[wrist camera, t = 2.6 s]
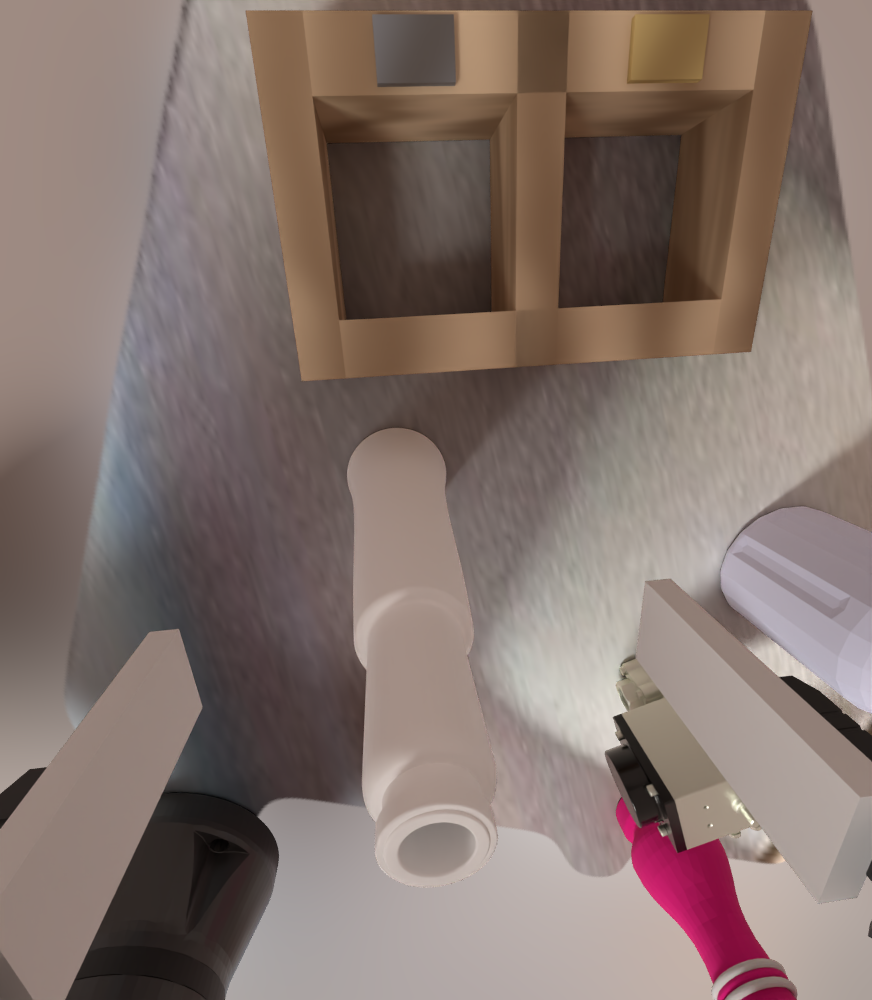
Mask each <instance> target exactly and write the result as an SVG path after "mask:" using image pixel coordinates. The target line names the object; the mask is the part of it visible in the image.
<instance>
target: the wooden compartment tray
mask: <svg viewBox="0 0 872 1000" xmlns="http://www.w3.org/2000/svg"><path fill="white" fill-rule="evenodd" d="M246 16H247V23H248V30H249V36H250V43H251V49H252V56H253V63H254V69H255V76H256V82H257V89H258V95H259V102H260V109H261V115H262V122H263V128H264V135H265V142H266V148H267V155H268V161H269V168H270V175H271V181H272V188H273V194H274V201H275V207H276V214H277V221H278V227H279V234H280V240H281V247H282V254H283V260H284V267H285V273H286V280H287V287H288V293H289V300H290V306H291V313H292V320H293V326H294V333H295V339H296V346H297V352H298V359H299V366H300V372H301V379H302V381H313V380H328V379H343V378H359V377H374V376H389V375H404V374H419V373H435V372H450V371H465V370H480V369H496V368H511V367H526V366H541V365H556V364H572V363H587V362H602V361H617V360H632V359H648V358H663V357H678V356H693V355H708V354H724V353H739V352H751V349H752V343H753V338H754V332H755V326H756V321H757V315H758V310H759V304H760V299H761V293H762V288H763V282H764V277H765V271H766V265H767V260H768V254H769V249H770V243H771V238H772V232H773V227H774V221H775V216H776V210H777V204H778V199H779V193H780V188H781V182H782V177H783V171H784V166H785V160H786V155H787V149H788V143H789V138H790V132H791V127H792V121H793V116H794V110H795V105H796V99H797V94H798V88H799V82H800V77H801V71H802V66H803V60H804V55H805V49H806V44H807V38H808V33H809V27H810V21H811V16H812V11H246ZM655 135H681V142H680V151H679V160H678V169H677V178H676V187H675V196H674V205H673V214H672V223H671V232H670V241H669V250H668V259H667V268H666V277H665V285H664V294H663V303H645V304H627V305H609V306H591V307H573V308H558V299H559V273H560V246H561V220H562V194H563V167H564V141H565V138H570V137H613V136H655ZM486 139H490V198H491V306H492V312H483V313H465V314H447V315H429V316H410V317H392V318H374V319H356V320H346V311H345V302H344V293H343V284H342V275H341V267H340V258H339V249H338V240H337V231H336V222H335V214H334V205H333V196H332V187H331V178H330V169H329V161H328V152H327V143H359V142H401V141H444V140H486Z"/></svg>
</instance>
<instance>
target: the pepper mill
mask: <svg viewBox="0 0 872 1000" xmlns="http://www.w3.org/2000/svg"><path fill="white" fill-rule="evenodd" d="M616 816H617V820H618V822H619V824H620V826H621V828H622V830H623V833H624V835H625V837H626V838H627V839H628V841H630V842H631V843H633V844H632V851H631V856H632V864H633V867H634V869H635V871H636V873H637V875H638V877H639V878H640V880H641V882H642V884H643V885H644V887H645V888H646V889H647V891H648V892H649V893H650V895H651V896H652V897H653V898H654V899H655V901H656V902H657V903H658V904H659V905H660V906H661V907H662V908H663V909H664V910H665V911H666V912H667V913H668V914H669V915H670V916H671V917H672V918H673V919H674V920H675V921H676V922H677V923H678V924H679V925H680V926H681V927H682V929H683V930H684V931H685V932H686V934H687V935H688V936H689V938H690V939H691V940H692V942H693V943H694V944H695V947H696V948H697V950H698V952H699V954H700V956H701V958H702V959H703V961H704V963H705V965H706V967H707V970H708V972H709V975H710V977H711V980H712V982H713V986H712V990H711V992H712V997H713V999H714V1000H797V989H796V987H795V986H794V984H793V983H792V982H791V981H789V980H788V977H787V976H786V973H785V970H784V968H783V966H782V965H781V964H780V963H778V962H777V961H775V960H772V959H770V958H769V957H768V955H767V954H766V953H765V951H764V950H763V948H762V947H761V945H760V944H759V943H758V941H757V940H756V939H755V937H754V935H753V933H752V931H751V929H750V927H749V925H748V924H747V922H746V920H745V918H744V915H743V913H742V910H741V908H740V905H739V902H738V898H737V895H736V892H735V886H734V881H733V877H732V873H731V869H730V865H729V861H728V858H727V856H726V853H725V850H724V848H723V846H722V844H721V843H720V841H719V839H716V840H713V841H710V842H707V843H704V844H702V845H699V846H696V847H693V848H691V849H688V850H685V851H682V852H680V853H677V852H676V850H675V848H674V846H673V845H672V843H671V841H670V839H669V837H668V836H664V837H662V836H661V834H660V832H659V830H658V826H659V825H660V824H659V823H658V822H657V823H655V824H652V825H649V826H646V827H644V828H639V827H638V826H637V824H636V823H635V821H634V820H633V818H632V816H631V814H630V812H629V810H628V808H627V806H626V804H625V802H624V800H623V798H621V799H620V801H619V803H618V805H617V809H616Z"/></svg>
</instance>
